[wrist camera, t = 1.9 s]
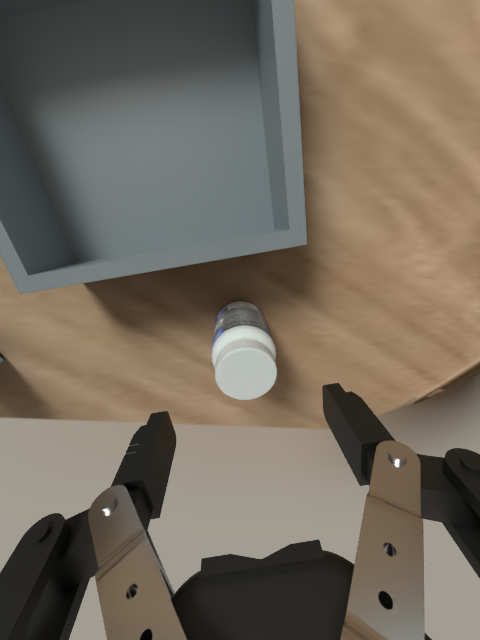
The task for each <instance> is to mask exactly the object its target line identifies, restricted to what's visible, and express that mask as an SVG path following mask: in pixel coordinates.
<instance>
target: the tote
mask: <svg viewBox="0 0 480 640" xmlns="http://www.w3.org/2000/svg"><path fill="white" fill-rule="evenodd" d="M302 245H307V232H306V214H305V195H304V177H303V158H302V140H301V121H300V103H299V84H298V66H297V47H296V29H295V10H294V0H0V256H1V258H2V260H3V262H4V264H5V266H6V268H7V270H8V272H9V274H10V276H11V277H12V279H13V281H14V283H15V285H16V287H17V289H18V291H19V293H20V294H24V293H30V292H36V291H42V290H47V289H53V288H59V287H65V286H70V285H76V284H82V283H88V282H94V281H99V280H105V279H111V278H117V277H123V276H128V275H134V274H140V273H146V272H152V271H157V270H163V269H169V268H175V267H180V266H186V265H192V264H198V263H204V262H209V261H215V260H221V259H227V258H233V257H238V256H244V255H250V254H256V253H261V252H267V251H273V250H279V249H285V248H290V247H296V246H302Z"/></svg>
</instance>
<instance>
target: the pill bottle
mask: <svg viewBox="0 0 480 640" xmlns="http://www.w3.org/2000/svg"><path fill="white" fill-rule="evenodd" d="M275 359H276V349H275V344H274V342H273V339H272V337H271V334H270V332H269V329H268V326H267V324H266V321H265V319H264V316H263V314H262V313H261V311H260V310H259V309H258V308H257V307H256V306H254V305H253V304H251V303H248V302H233V303H231V304H229V305H227V306H225V307H224V308H223V309H222V310H221V311H220V312H219V314H218V316H217V318H216V322H215V329H214V337H213V345H212V362H213V365H214V368H215V378H216V382H217V385H218V386H219V388H220V389H221V390H222V392H223V393H225V394H226V395H227V396H229V397H232V398H235V399H239V400H251V399H255V398H258V397H260V396H262V395H264V394H265V393H267V392H268V391H269V390H270V389H271V388H272V386H273V385H274V383H275V381H276V377H277V367H276V363H275Z"/></svg>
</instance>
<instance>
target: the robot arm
mask: <svg viewBox="0 0 480 640" xmlns="http://www.w3.org/2000/svg"><path fill="white" fill-rule="evenodd" d="M323 411H324V415H325V419H326V421H327V423H328V425H329V427H330V429H331V431H332V433H333V435H334V437H335V439H336V440H337V442H338V444H339V446H340V448H341V450H342V452H343V454H344V456H345V458H346V459H347V462H348V464H349V465H350V467H351V469H352V471H353V473H354V475H355V477H356V479H357V481H358V483H359V485H360V486H362V485H368V484H369V486H370V487H369V493H368V494H367V498H366V503H365V508H364V514H363V520H362V526H361V531H360V537H359V542H358V548H357V555H356V560H355V565H354V564H353V563H351V562H350V561H348V560H346V559H345V558H343V557H341V556H339V555H337V554H335V553H332V552H328V551H323V550H322V548H321V545H320V541H319V540H313V541H308V542H301V543H296V544H290V545H288V546H286V547H284V548H282V549H280V550H279V551H277V552H275V553H273V554H271V555H269V556H268V557H265V558H263V559H255V558H249V557H244V556H238V555H233V554H228V555H222V556H215V557H209V558H203V559H202V562H201V571H199V572H197V573H196V574H194V575H193V576H192V577H190V578H189V579H188V580H187V581H186V582H185V583H184V584H183V585H182V586H181V587H180V588H179V589H178V590H177V591H176V593H174V590H173V588H172V586H171V584H170V582H169V579H168V577H167V575H166V573H165V570H164V568H163V566H162V563H161V561H160V558H159V556H158V554H157V551H156V549H155V546H154V544H153V542H152V540H151V537H150V535H149V532H148V530H147V529H148V525H149V522H150V519H155V518H159V517H160V513H161V509H162V504H163V500H164V496H165V492H166V487H167V483H168V478H169V474H170V470H171V465H172V460H173V456H174V452H175V448H176V434H175V431H174V428H173V425H172V422H171V419H170V416H169V413H168V412H167V411H164V412H158V413H152V414H151V415H150V417H149V420H148V422H147V425H144V426H141V427H140V428H139V430H138V431H137V432H136V433H135V434H134V436H133V438H132V440H131V442H130V446H129V447H128V449H127V451H126V455H125V456H124V458H123V460H122V463H121V465H120V467H119V469H118V472H117V474H116V476H115V478H114V481H113V483H112V485H111V487H110V488H108V489H107V490H105V491H104V492H102V493H101V494H100V495H99V496H98V497H97V498H96V499H95V501H94V502H93V503H92V505H91V507H90V508H89V509H88V510H85V511H83V512H82V513H79V514H77V515H75V516H73V517H71V518H69V519H67V520H65V518H64V517H63V516H62V515H61V514H59V513H55V514H50V515H48V516H46V517H44V518H42V519H41V520H39V521H38V522H36V523H35V524H34V525H33V526H32V527H31V528H30V529H29V530H28V531H27V532H26V533H25V534H24V536H23V537H22V539H21V540H20V542H19V543H18V545H17V547H16V548H15V550H14V552H13V553H12V555H11V556H10V558H9V560H8V561H7V563H6V565H5V566H4V568H3V569H2V571H1V573H0V640H69V637H70V634H71V631H72V628H73V625H74V623H75V620H76V617H77V614H78V611H79V608H80V605H81V602H82V599H83V597H84V594H85V591H86V588H87V585H88V582H89V579H90V578H91V577H93V576H95V578H96V585H97V590H98V595H99V600H100V605H101V611H102V615H103V621H104V626H105V631H106V636H107V640H432V639H431V638H430V637H429V636H428V635H427V634H426V633H425V632H424V551H423V550H424V549H423V548H424V547H423V519H428V520H433V521H439V522H442V523H443V525H444V526H445V528H446V529H447V531H448V532H449V534H450V535H451V537H452V538H453V540H454V541H455V543H456V544H457V545H458V547H459V548H460V550H461V551H462V553H463V554H464V556H465V557H466V559H467V560H468V562H469V563H470V565H471V566H472V568H473V569H474V571H475V572H476V573H477V575H478V577H479V578H480V455H479V454H478V453H475V452H473V451H470V450H467V449H460V448H455V449H451V450H449V451H447V453H446V455H445V458H441V457H433V456H426V455H420V454H416V453H415V452H414V451H413V450H412V449H410V448H409V447H408V446H406V445H404V444H402V443H400V442H396V441H395V440H394V438H393V437H392V436H391V435H390V434H389V432H388V431H387V430H386V428H385V427H384V426H383V425H382V423H381V422H380V421H379V419H378V418H377V417H376V416H375V414H373V412H372V411H371V409H370V408H369V407H368V406H367V404H366V403H365V402H364V401H363V399H362V398H361V397H359V396H358V395H356V394H355V393H353V392H345V391H344V390H343V388H342V387H341V385H340V384H339V383H334V384H328V385H323ZM422 518H423V519H422Z"/></svg>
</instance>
